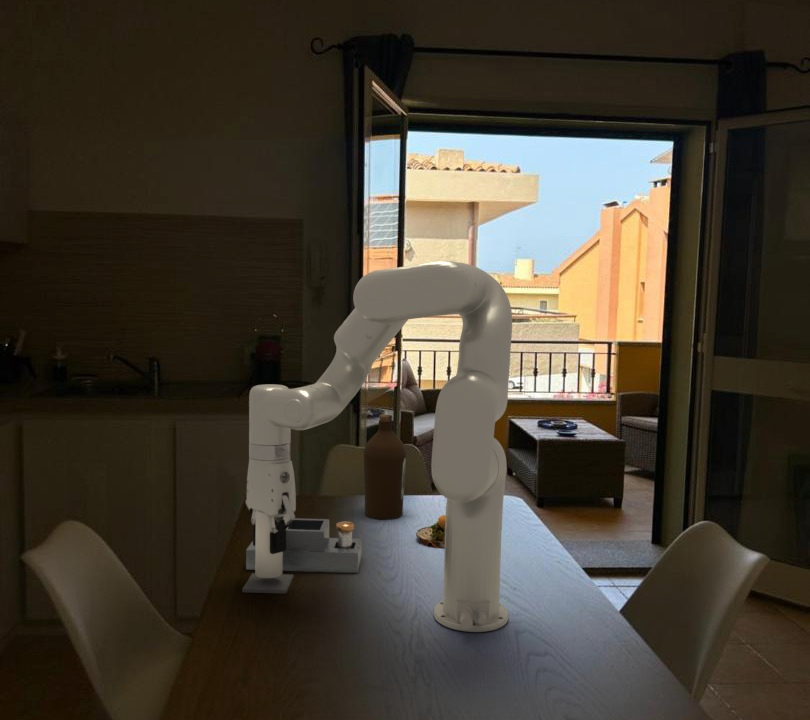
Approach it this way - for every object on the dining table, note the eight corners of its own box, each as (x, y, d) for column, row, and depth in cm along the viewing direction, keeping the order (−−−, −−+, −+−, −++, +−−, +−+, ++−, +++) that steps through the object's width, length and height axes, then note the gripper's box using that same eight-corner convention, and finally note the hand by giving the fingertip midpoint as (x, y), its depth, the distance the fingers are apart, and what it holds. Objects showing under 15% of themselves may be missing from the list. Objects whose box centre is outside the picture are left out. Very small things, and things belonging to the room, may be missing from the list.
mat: (286, 593, 139) (286, 590, 139) (242, 592, 139) (242, 589, 139) (293, 577, 147) (293, 574, 147) (252, 576, 147) (252, 573, 147)
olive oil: (366, 521, 185) (368, 419, 183) (359, 509, 196) (360, 412, 194) (409, 519, 188) (411, 418, 186) (399, 507, 198) (401, 411, 196)
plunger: (352, 566, 153) (353, 526, 152) (334, 565, 153) (335, 526, 153) (354, 559, 157) (355, 521, 156) (336, 559, 157) (337, 521, 156)
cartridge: (287, 573, 143) (288, 505, 142) (265, 580, 140) (265, 510, 139) (272, 566, 147) (273, 499, 146) (250, 572, 143) (250, 504, 142)
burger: (448, 530, 181) (449, 499, 180) (478, 544, 171) (479, 511, 170) (405, 537, 174) (405, 505, 174) (434, 553, 164) (435, 518, 164)
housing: (361, 557, 159) (362, 519, 159) (357, 573, 150) (358, 533, 150) (256, 554, 160) (256, 516, 159) (246, 569, 151) (246, 529, 150)
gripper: (314, 456, 138) (313, 555, 139) (261, 442, 150) (261, 533, 151) (279, 462, 133) (278, 564, 134) (227, 447, 145) (227, 541, 146)
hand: (269, 547), depth 143 cm, fingers closed on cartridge, 4 cm apart
